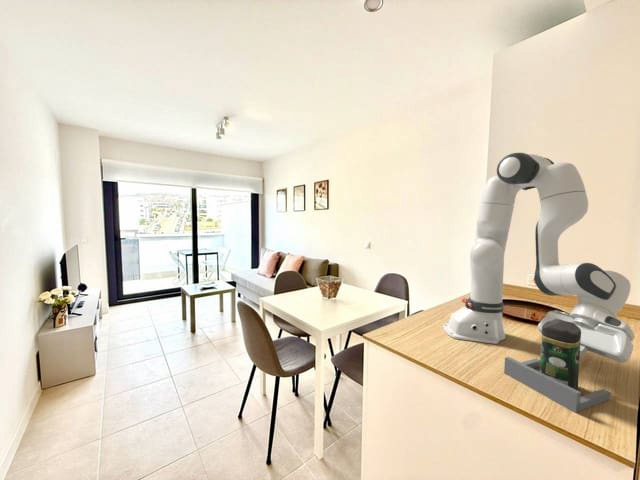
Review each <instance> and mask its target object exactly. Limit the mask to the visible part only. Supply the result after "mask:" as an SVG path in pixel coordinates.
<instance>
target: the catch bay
mask: <svg viewBox="0 0 640 480" xmlns="http://www.w3.org/2000/svg"><path fill="white" fill-rule="evenodd" d="M540 365H541V359H539V358H537V357H536V358H532V359H529V360H525V361H518V360H517V359H515V358H512V357H510V356H505V357H504V369H503V370H504V372H503V373H504V374H505V375H507V376H509V377H511V378H513V379H514V380H515V381H517V382H519V383H521V384H523V385H524V386H526V387H528V388H530V389H532V390H534V391H536V392H537V393H539V394H541V395H543V396H545V397H547V398H548V399H550V400H551V401H553V402H556V403H557V404H559V405H560V406H563V408H566V409H567V410H570V411H571V412H574V413H575V414H577V413H579V412H582V411H584V410H586V409H589V408H592V407H594V406H596V405H599V404H602V403H604V402H607V401H609V400H611V395H612V394H611V391H609V390H607V389H606V388H605V389H604V388H602V389H601V388H600V389H597V390H596V391H593V392H590V393H588V394H585V395H583V396H581V393H582V392H581V391H579V390H578V389H577V390H575V389H573V388H571V387H569V386H567V385H565V384H563V383H561V382H559V381H557V380H555V379H553V378H551V377H549V376H547V375H545V374H543V373H541V372H540V370H539V371H538V370H536V369H539V368H540Z"/></svg>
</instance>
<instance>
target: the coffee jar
mask: <svg viewBox="0 0 640 480" xmlns="http://www.w3.org/2000/svg"><path fill="white" fill-rule="evenodd" d="M580 342H581V330H580V328H579V327H578V326H576V325H575V324H574V323H572V322H567V321H563V320H558V319H555V320H552V321H548V322H546V323H545V324H544V325H543V326H542V333H541V349H540V360H541V365H540V367H539V368H540V369H539V372H541V373H543V374H545V375H547V376H549V377H551V378H553V379H555V380H557V381H559V382H561V383H563V384H565V385H567V386H569V387H571V388H573V389H575V390H577V391H578V390H579V375H580V373H579V370H580V357H581V356H580Z"/></svg>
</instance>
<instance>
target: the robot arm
mask: <svg viewBox="0 0 640 480" xmlns="http://www.w3.org/2000/svg"><path fill="white" fill-rule="evenodd" d="M496 174H497V175H494V176H491V177H489V179H488V180H487V181H486V183H485V186H484V189H483V192H482V195H481V200H480V205H479V209H478V217H477V220H476V221H477V222H476V230H475V231H476V232H475V239H474V245H473V246H472V247H471V249H470V251H469V252H470V253H469V255H470V256H469V263H470V264H469V265H470V266H469V267H470V297H469V298H466V297H464V296H463V297H462V296H461V299H460V300H461V302H462V303H464V306H463V307H461V308H460V309H458V310H455V312H452V313H451V315H450V317H449V321H448V322H445V323H443V327H442V329H443V330H444V332H445V333H446V334H447V335H448V336H450V337H452V338H453V339H456V340H464V341H471V342H477V343H484V344H485V343H487V344H492V345H493V344H495V345H496V344H499V343H500V342H501V341H503V340H505V339H507V338H506V333H505V328H504V324H503V323H504V322H503V315H504V301H503V295H504V293H503V291H504V270H505V269H504V263H505V253H506V247H507V243H508V242H507V241H508V238H509V232H510V227H511V222H512V218H513V212H514V208H515V207H514V206H515V203H516V202H515V201H516V198H517V194H518V193H519V191H520V190H523V191H528V190H532V189H535V188H536V190H537V192H538V196H539V201H540V203H539V204H540V214H539V218H538V221H537V222H536V225H535V235H534V238H535V239H534V240H535V259H536V260H535V261H536V262H535V263H536V264H535V271H534V277H533V279H534V283H535V286H536V287H537V288H538V289H539V290H540V292H542V293H543V294H545V295H547V296H551V297H552V296H553V297H554V296H564V295H565V296H576V297H577V298H578V299H579V300H578V301H577V303H576V304H575V305H574V307H573V309H572V310H571V312H570V313H569V312H565V311H561V310H557V309H555V310H550V311H548V312H547V313H546V315H545V316H544V317H543V318H542V320H541V321H540V322H539V323H538V325H537V330H539V331H538V332H539V333H541V334H542V326H543V325H544V324H545V323H546V322H548V321H552V320H555V319H558V320H563V321H567V322H572V323H574V324H575V325H576V326H578V327H579V328H580V330H581V342H580V357H581V356H584V355H587V353H588V352H590V353H593V354H596V355H598V356H601V357H604V358H607V359H609V360H613V361H616V362H618V363H621V364H623V363H627V362H628V361H629V360H630V358H631V355H632V353H633V350H634V345H633V341H634V340H635V333H634V332H633V330H632V328H631V327H630V325H629V324H628V323H627V322H625V321H624V320H621V319H619V318H618V313H619V312H620V311H621V310H622V309H623V308H624V306H625V304H626V303H627V301H628V298H629V296H630V292H631V281H630V280H629V279H628V278H627V277H626V276H624V275H623V274H621V273H619V272H616V271H613V270H604V269H602V268H601V267H599V266H598V265H597V264H594V263H591V262H578V263H577V262H576V263H568V264H560V262H559V244H558V243H559V238H560V237H561V235H562V234H563V233H564V232H565V231H566V230H567V229H569V228H571V227H572V226H574V225H575V224H577V223H578V222H580V221H581V220H582V219H583V218H584V217H585V216H586V214H587V213H588V210H589V199H588V195H587V191H586V187H585V184H584V181H583V179H582V177H581V174H580V172H579V170H578V169H577V166H576V165H574V164H572V163H570V162H556V163H554V161H552V160H551V159H550V158H547V157H543V156H541V155H538V154H535V153H534V154H531V153H525V152H513V153H512V152H511V153H509V154H507V155H505V156H504V157H503V158H501V160H499V162H498V164H497V166H496Z"/></svg>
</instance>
